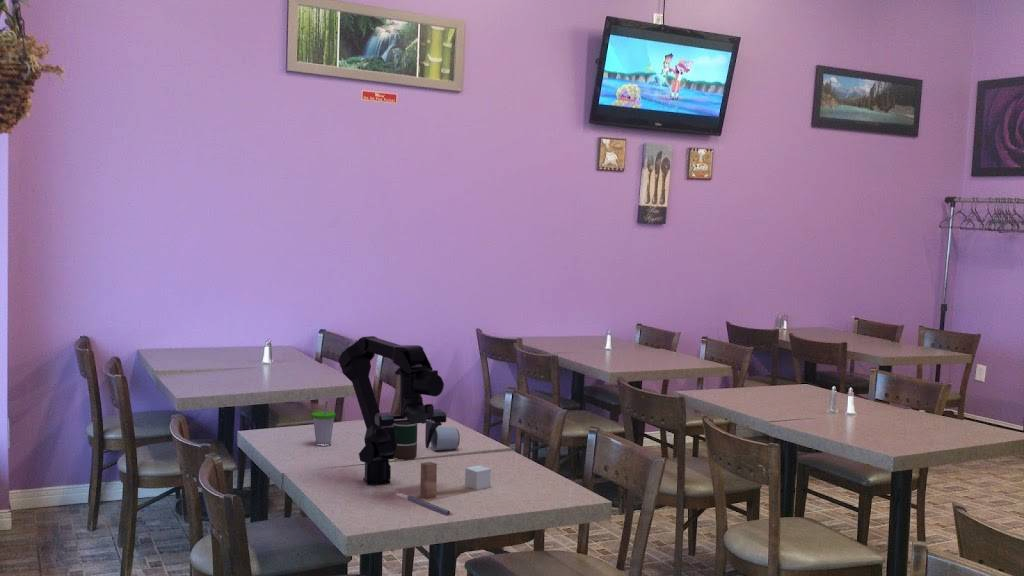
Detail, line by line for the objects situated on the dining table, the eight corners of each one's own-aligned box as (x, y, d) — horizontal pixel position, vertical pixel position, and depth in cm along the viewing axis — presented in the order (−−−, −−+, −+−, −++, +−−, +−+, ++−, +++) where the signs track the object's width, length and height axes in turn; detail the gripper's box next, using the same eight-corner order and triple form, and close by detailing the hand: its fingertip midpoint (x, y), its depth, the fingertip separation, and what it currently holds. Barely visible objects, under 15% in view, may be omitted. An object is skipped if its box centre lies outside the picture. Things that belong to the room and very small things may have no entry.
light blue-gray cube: (465, 485, 265) (465, 468, 264) (478, 482, 268) (479, 465, 268) (476, 489, 261) (476, 471, 261) (490, 486, 264) (490, 469, 264)
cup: (316, 441, 318) (316, 396, 317) (338, 442, 317) (339, 397, 316) (307, 446, 310) (308, 401, 309) (331, 448, 309) (331, 402, 308)
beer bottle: (406, 461, 294) (407, 384, 293) (386, 457, 299) (387, 381, 297) (421, 456, 301) (423, 380, 299) (402, 452, 305) (403, 378, 303)
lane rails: (407, 499, 254) (407, 496, 254) (479, 484, 271) (479, 480, 271) (446, 515, 242) (446, 511, 242) (520, 498, 258) (520, 494, 258)
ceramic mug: (461, 451, 309) (461, 427, 309) (437, 453, 306) (437, 429, 306) (449, 444, 319) (450, 421, 319) (426, 446, 316) (426, 423, 315)
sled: (415, 499, 254) (415, 462, 254) (478, 485, 269) (479, 450, 268) (428, 504, 250) (429, 467, 249) (492, 490, 264) (493, 454, 264)
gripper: (384, 398, 248) (384, 458, 249) (452, 394, 255) (452, 452, 256) (374, 392, 259) (374, 449, 260) (440, 388, 266) (440, 444, 266)
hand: (410, 449), depth 260 cm, fingers open, 9 cm apart
